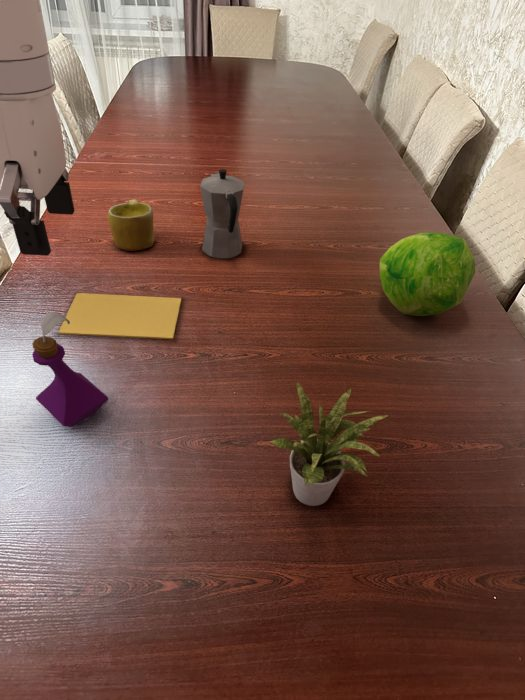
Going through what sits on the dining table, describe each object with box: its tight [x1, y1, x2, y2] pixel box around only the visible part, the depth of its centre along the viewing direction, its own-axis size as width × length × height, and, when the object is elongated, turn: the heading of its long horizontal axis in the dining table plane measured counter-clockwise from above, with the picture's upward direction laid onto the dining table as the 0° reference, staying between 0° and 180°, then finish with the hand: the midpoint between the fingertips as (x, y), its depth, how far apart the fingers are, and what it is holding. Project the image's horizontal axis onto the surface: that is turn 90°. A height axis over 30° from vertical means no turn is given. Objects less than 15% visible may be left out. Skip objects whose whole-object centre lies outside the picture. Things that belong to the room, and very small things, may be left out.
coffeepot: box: [199, 168, 246, 260], centre depth 110 cm, size 15×9×18 cm, turn 19°
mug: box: [107, 199, 155, 252], centre depth 114 cm, size 12×10×10 cm
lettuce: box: [379, 232, 476, 317], centre depth 99 cm, size 17×20×16 cm
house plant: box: [269, 380, 390, 507], centre depth 64 cm, size 14×14×16 cm
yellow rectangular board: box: [57, 292, 182, 340], centre depth 96 cm, size 20×12×1 cm, turn 90°
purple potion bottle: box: [31, 311, 109, 428], centre depth 72 cm, size 8×8×18 cm
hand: (49, 232), depth 62 cm, fingers open, 9 cm apart
